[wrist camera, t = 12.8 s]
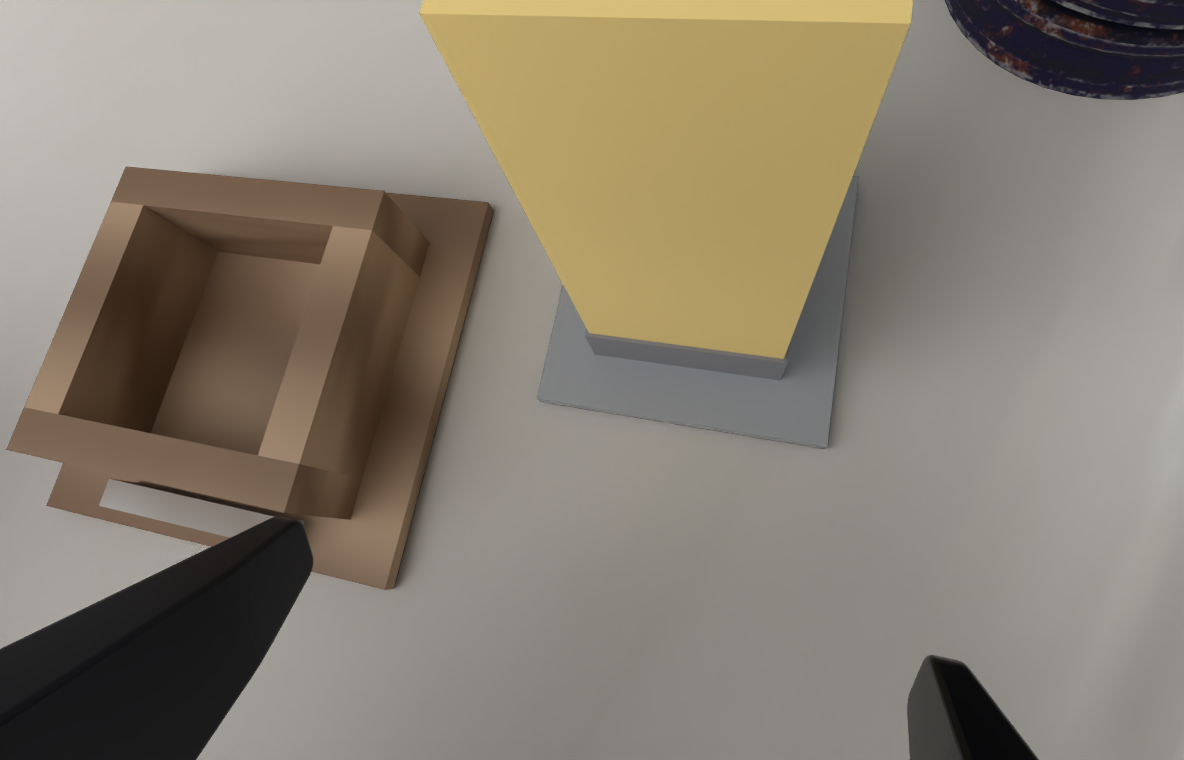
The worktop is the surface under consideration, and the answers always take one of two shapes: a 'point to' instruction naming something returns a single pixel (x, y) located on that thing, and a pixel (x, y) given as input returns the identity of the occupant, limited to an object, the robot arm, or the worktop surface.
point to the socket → (258, 361)
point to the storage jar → (1082, 43)
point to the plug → (678, 154)
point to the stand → (710, 396)
